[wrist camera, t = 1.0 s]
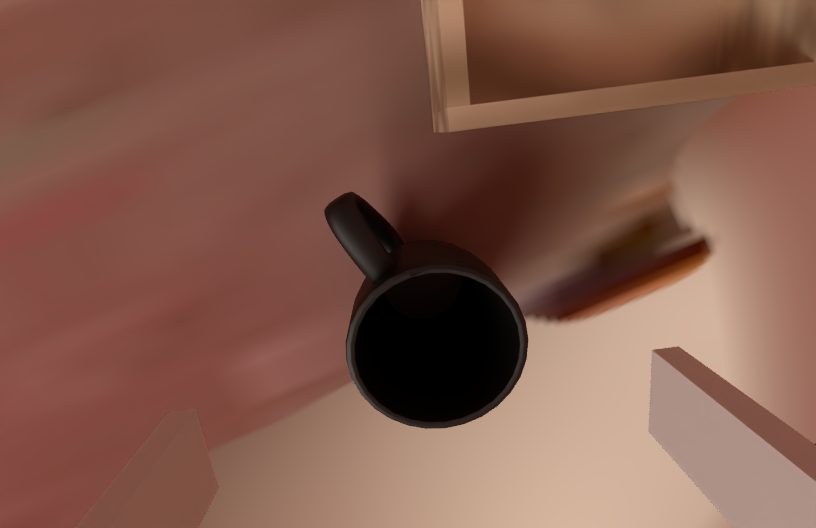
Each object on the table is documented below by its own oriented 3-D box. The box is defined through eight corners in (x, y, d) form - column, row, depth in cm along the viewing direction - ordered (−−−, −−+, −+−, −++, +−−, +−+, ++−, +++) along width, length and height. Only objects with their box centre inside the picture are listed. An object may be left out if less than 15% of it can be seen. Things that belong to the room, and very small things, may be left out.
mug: (412, 141, 26) (424, 145, 17) (506, 299, 29) (560, 375, 20) (299, 214, 27) (252, 255, 18) (402, 359, 30) (408, 458, 21)
